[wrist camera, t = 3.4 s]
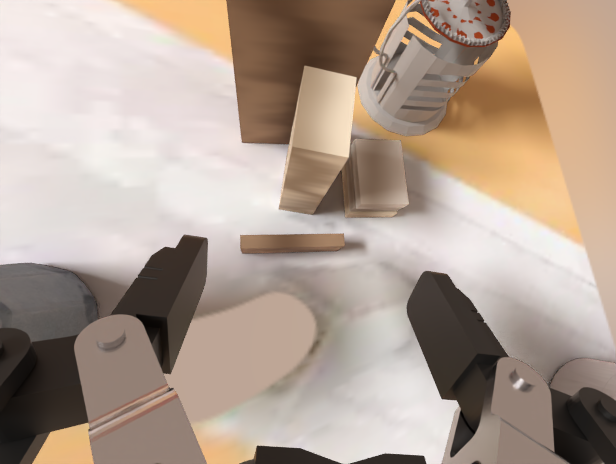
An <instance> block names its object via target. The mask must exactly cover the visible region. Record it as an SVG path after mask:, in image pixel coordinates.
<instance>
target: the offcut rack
mask: <svg viewBox="0 0 616 464" xmlns="http://www.w3.org/2000/svg"><path fill="white" fill-rule="evenodd" d="M226 1H227V10H228V19H229V28H230V37H231V47H232V56H233V65H234V74H235V83H236V93H237V102H238V111H239V120H240V129H241V139H242V142H244V143H273V144H289V142H290V137H291V132H292V127H293V122H294V117H295V111H296V106H297V101H298V96H299V91H300V86H301V81H302V76H303V70H304V65H305V66H309V67H314V68H318V69H322V70H327V71H331V72H335V73H340V74H344V75H348V76H353V77H357V79H356V86H357V84H358V81H359V79H360V77H361V75H362V73H363V71H364V68H365V66H366V64H367V62H368V60H369V57H370V55H371V53H372V51H373V49H374V46H375V44H376V42H377V40H378V38H379V36H380V33H381V31H382V29H383V27H384V25H385V22H386V20H387V18H388V16H389V14H390V11H391V9H392V7H393V5H394V3H395V0H226ZM344 246H345V243H344V234H292V235H240V249H241V251H242V254H243V253H281V252H320V251H338V250H339V249H341V248H343V247H344Z"/></svg>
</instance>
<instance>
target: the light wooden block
mask: <svg viewBox="0 0 616 464" xmlns="http://www.w3.org/2000/svg"><path fill="white" fill-rule="evenodd" d="M356 79H357V77H353V76H348V75H344V74H340V73H335V72H331V71H327V70H322V69H318V68H314V67H309V66H305V65H304V70H303V76H302V81H301V86H300V91H299V96H298V101H297V106H296V111H295V117H294V122H293V127H292V132H291V137H290V142H289V147H288V153H287V158H286V164H285V171H284V177H283V184H282V190H281V197H280V203H279V209H281V210H287V211H293V212H299V213H305V214H311V215H313V213H314V212H315V210H316V208H317V207H318V205H319V204H320V202H321V201H322V199H323V197H324V196H325V194H326V193H327V191H328V189H329V188H330V186H331V185H332V183H333V182H334V180H335V178H336V177H337V175H338V174H339V172H340V171H341V169H342V167H343V166H344V164H345V163H346V161H347V159H348V158H349V149H350V139H351V129H352V119H353V109H354V99H355V89H356Z"/></svg>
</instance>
